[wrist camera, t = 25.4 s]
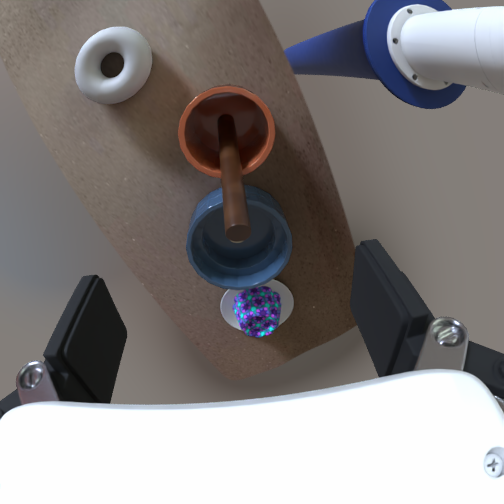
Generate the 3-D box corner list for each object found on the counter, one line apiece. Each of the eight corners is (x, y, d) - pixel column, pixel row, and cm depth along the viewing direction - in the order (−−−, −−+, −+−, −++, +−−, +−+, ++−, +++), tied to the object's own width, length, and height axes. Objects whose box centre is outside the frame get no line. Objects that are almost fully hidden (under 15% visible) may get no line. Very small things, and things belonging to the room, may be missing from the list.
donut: (157, 24, 28) (82, 34, 27) (151, 20, 26) (71, 32, 24) (153, 100, 34) (81, 106, 33) (147, 102, 31) (70, 110, 30)
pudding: (251, 338, 56) (253, 360, 52) (205, 301, 51) (203, 324, 46) (306, 305, 53) (313, 326, 48) (263, 261, 47) (267, 282, 43)
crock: (261, 80, 33) (270, 81, 26) (268, 151, 38) (278, 172, 31) (184, 90, 33) (171, 95, 26) (195, 160, 38) (187, 184, 31)
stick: (236, 115, 35) (254, 226, 24) (231, 129, 36) (247, 243, 25) (219, 112, 34) (228, 223, 23) (215, 126, 36) (222, 240, 25)
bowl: (282, 177, 40) (289, 193, 36) (287, 260, 47) (293, 283, 43) (182, 190, 40) (176, 207, 36) (200, 271, 47) (198, 295, 43)
